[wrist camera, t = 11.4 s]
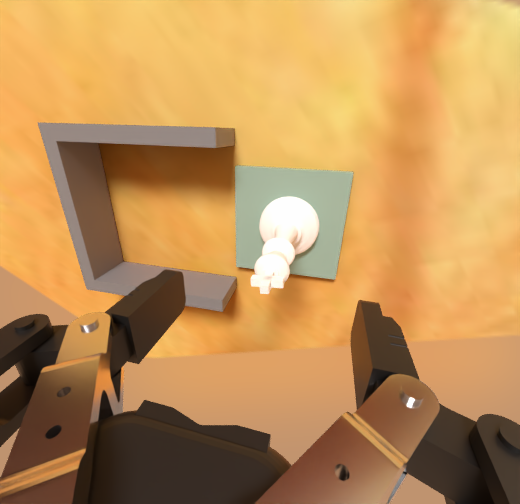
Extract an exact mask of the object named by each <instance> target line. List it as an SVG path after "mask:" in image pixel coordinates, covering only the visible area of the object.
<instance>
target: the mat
mask: <svg viewBox="0 0 520 504" xmlns="http://www.w3.org/2000/svg"><path fill="white" fill-rule="evenodd" d="M352 179H353V172H348V171H330V170H312V169H294V168H276V167H258V166H240V165H237V166H235V203H236V267H242V268H250V269H254V267H255V263H256V261H257V260H258V259H259V258H260V257H261V256H263V255H262V249H263V246H264V244H265V242H264V241H263V239H262V237H261V234H260V230H259V223H260V218H261V215H262V213H263V211H264V209H265V208H266V206H267V205H268V204H269V203H271V202H272V201H274V200H276V199H278V198H281V197H288V196H289V197H297V198H300V199H302V200H304V201H306V202H307V203H309V204H310V205H311V206H312V207H313V209H314V210H315V212H316V213H317V216H318V219H319V233H318V236H317V238H316V240H315V242H314V243H313V244H312V246H311V247H310V248H309V249H307V250H306V251H304V252H302V253H300V254H297V255H295V258H294V260H293V262H292V263H291V264H290V265H289V268H290V274H296V275H304V276H311V277H319V278H327V279H334V280H335V278H336V273H337V267H338V261H339V255H340V249H341V243H342V237H343V232H344V226H345V220H346V214H347V208H348V202H349V196H350V190H351V185H352Z"/></svg>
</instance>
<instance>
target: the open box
mask: <svg viewBox="0 0 520 504" xmlns="http://www.w3.org/2000/svg"><path fill="white" fill-rule="evenodd" d="M38 126H39V129H40V132H41V136H42V139H43V143H44V146H45V149H46V153H47V156H48V159H49V163H50V166H51V170H52V173H53V176H54V180H55V183H56V187H57V190H58V193H59V197H60V200H61V204H62V207H63V210H64V214H65V217H66V220H67V224H68V227H69V231H70V234H71V237H72V241H73V244H74V248H75V251H76V254H77V258H78V261H79V265H80V268H81V271H82V275H83V278H84V282H85V285H86V288H87V289H88V290H94V291H100V292H106V293H112V294H118V295H124V296H126V295H128V294H129V293H130V292H131V291H133V290H135V288H136V287H138V286H139V285H140V284H141V283H143V282H145V281H147V280H149V279H152V278H155V277H156V276H157V275H159V274H160V273H161V272H162V271H163V270H165V269H168V270H174V271H180V272H182V273H183V277H184V286H185V296H186V303H185V306H191V307H197V308H203V309H209V310H215V311H221V312H223V310H224V309H225V307H226V305H227V303H228V302H229V300H230V298H231V296H232V295H233V293H234V291H235V289H236V277H231V276H224V275H217V274H210V273H203V272H195V271H188V270H181V269H174V268H166V267H159V266H152V265H145V264H138V263H130V262H124V261H123V256H122V252H121V247H120V242H119V238H118V233H117V228H116V224H115V219H114V214H113V210H112V205H111V200H110V196H109V191H108V186H107V182H106V177H105V172H104V168H103V163H102V158H101V154H100V149H99V144H98V143H114V144H137V145H161V146H184V147H207V148H219V147H226V146H234V145H235V132H234V129H233V128H213V127H177V126H140V125H104V124H68V123H38Z"/></svg>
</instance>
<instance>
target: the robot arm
mask: <svg viewBox="0 0 520 504" xmlns="http://www.w3.org/2000/svg"><path fill="white" fill-rule="evenodd" d="M185 303H186V296H185V286H184V277H183V273H182V272H180V271H174V270H168V269H165V270H163V271H162V272H161V273H160V274H159V275H157V276H156V277H155V278H152V279H149V280H147V281H145V282H143V283H141V284H140V285H139V286H138V287H136V288H135V290H133V291H131V292H130V293H129V294H128V295H126V296H125V297H124V298H122V299H121V300H120V301H119V302H117V303H116V304H115V305H114V306H112V307H111V308H110V309H109V310H107V311H106V312H105V313H103V312H95V313H90V314H86V315H83V316H81V317H79V318H77V319H76V320H74V321H73V322H72V323H71V324H70V325H58V326H52V325H51V323H50V320H49V317H48V316H47V315H43V314H34V315H28V316H25V317H22V318H19V319H17V320H15V321H13V322H11V323H9V324H7V325H6V326H4V327H3V328H1V329H0V376H1V375H2V374H3V373H5V372H6V371H7V370H8V369H10V368H11V367H12V366H14V365H15V366H16V368H17V370H18V372H19V374H20V377H18V378H17V379H16V380H15V381H14V382H12V383H11V384H10V385H9V386H8V387H6V388H5V389H4V390H3V391H2V392H0V447H1V445H3V444H4V443H5V442H6V440H8V439H9V438H10V437H11V436H12V435H13V433H14V432H16V431H17V429H19V431H18V434H17V436H16V439H15V442H14V444H13V447H12V449H11V452H10V455H9V457H8V460H7V462H6V465H5V468H4V470H3V473H2V476H1V477H0V504H390V503H391V502H392V500H393V498H394V496H395V495H396V493H397V492H398V490H399V488H400V487H401V485H402V483H403V482H404V480H405V479H406V477H407V475H408V474H410V475H412V476H413V477H415V478H416V479H418V480H420V481H421V482H423V483H425V484H426V485H428V486H430V487H431V488H433V489H434V490H436V491H438V492H439V493H441V494H443V495H444V497H445V500H446V504H520V425H518V424H517V423H515V422H513V421H511V420H509V419H507V418H505V417H502V416H498V415H493V414H485V415H482V416H480V417H479V419H478V420H477V422H475V421H473V420H471V419H469V418H467V417H465V416H463V415H460V414H458V413H456V412H454V411H451V410H450V409H448V408H446V407H444V406H443V405H441V404H440V403H439V401H438V399H437V397H436V395H435V394H434V393H433V391H432V390H431V389H430V388H429V387H428V386H427V385H426V384H424V383H423V382H421V381H420V380H419V377H418V374H417V371H416V369H415V366H414V363H413V360H412V358H411V355H410V352H409V349H408V348H407V344H406V341H405V339H404V335H403V333H402V330H401V327H400V326H399V325H398V324H397V323H396V322H395V321H394V320H393V319H392V318H391V317H385V316H383V315H382V312H381V308H380V305H379V303H375V302H369V301H362V300H359V301H358V304H357V309H356V313H355V318H354V322H353V326H352V331H351V353H352V363H353V373H354V384H355V393H356V404H357V411H356V412H355V413H354V414H350V413H349V412H346V413H344V414H343V415H342V416H340V417H339V418H338V420H336V421H335V423H334V424H333V425H332V426H331V427H330V428H329V429H328V430H327V431H326V432H325V433H324V434H323V435H322V436H321V437H320V438H319V439H318V440H317V441H316V442H315V443H314V444H313V445H312V446H311V447H310V448H309V449H308V450H307V451H306V452H305V453H304V454H303V455H302V456H301V457H300V458H299V459H298V460H297V461H296V462H295V463H294V464H293V465H292V466H291V464H290V463H289V462H288V461H287V460H286V459H285V458H284V457H283V456H282V455H280V454H279V453H278V452H277V451H275V450H274V449H272V448H271V447H270V434H267V433H263V432H260V431H256V430H252V429H249V428H245V427H241V426H238V425H199V424H197V423H196V422H194V421H193V420H191V419H190V418H188V417H186V416H185V415H183V414H182V413H180V412H179V411H177V410H176V409H174V408H172V407H168V406H165V405H161V404H158V403H154V402H150V401H147V400H144V401H143V403H142V404H141V406H140V407H139V409H138V410H137V411H128V412H123V387H124V368H123V365H124V364H125V363H126V362H127V361H128V362H132V363H137V364H139V363H140V362H141V361H142V359H143V358H144V357H145V356H146V355H147V353H148V352H149V351H150V350H151V349H152V347H153V346H154V345H155V344H156V343H157V341H158V340H159V339H160V338H161V337H162V335H163V334H164V333H165V332H166V331H167V329H168V328H169V327H170V326H171V325H172V323H173V322H174V321H175V320H176V319H177V317H178V316H179V315H180V314H181V313H182V311H183V309H184V307H185Z"/></svg>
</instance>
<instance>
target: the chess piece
mask: <svg viewBox="0 0 520 504" xmlns="http://www.w3.org/2000/svg"><path fill="white" fill-rule="evenodd" d="M259 230H260V234H261V237H262V239H263V241H264V242H265V244H264V246H263V249H262V255H263V256H261V257H260V258H259V259H258V260H257V261H256V263H255V267H254V270H255V274H256V275H252V277H251V286H257V287H260V294H269V292H270V289H271V288H283V287H284V283H285V282H286V280H287V279H288V277H289V274H290V268H289V265H290V264H291V263H292V262H293V260H294V258H295V255H297V254H300V253H302V252H304V251H306V250H307V249H309V248H310V247H311V246H312V244H313V243H314V242H315V240H316V238H317V236H318V233H319V219H318V216H317V213H316V212H315V210H314V209H313V207H312V206H311V205H310V204H309V203H307V202H306V201H304V200H302V199H300V198H297V197H289V196H288V197H281V198H278V199H276V200H274V201H272V202H271V203H269V204H268V205H267V206H266V208H265V209H264V211H263V213H262V215H261V218H260V223H259Z"/></svg>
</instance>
